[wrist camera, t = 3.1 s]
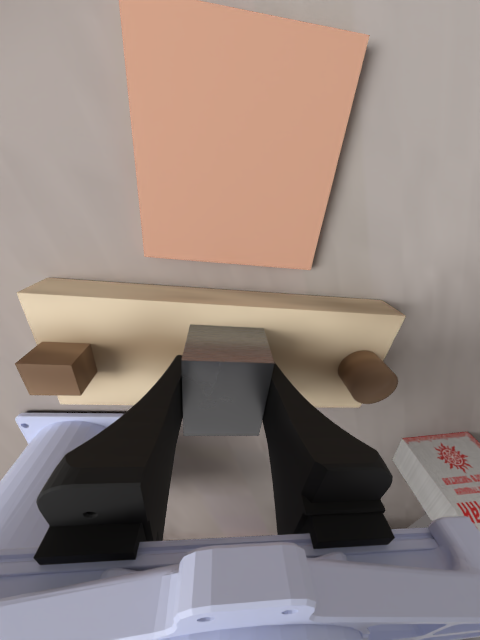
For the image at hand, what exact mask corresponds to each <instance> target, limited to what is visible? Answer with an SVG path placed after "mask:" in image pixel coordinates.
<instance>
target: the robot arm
mask: <svg viewBox="0 0 480 640" xmlns="http://www.w3.org/2000/svg"><path fill="white" fill-rule="evenodd" d="M181 359H182V355H177V356H176V357H175V358H174V360H173V361H172V363H171V364H170V366H169V367H168V369H167V370H166V371H165V372H164V374H163V375H162V376H161V377H160V379H159V380H158V381H157V382H156V383H155V385H154V386H153V387H152V388H151V389H150V390H149V391H148V392H147V393H146V394H145V395H144V396H143V397H142V398H141V399H140V400H139V401H138V402H137V403H136V404H135V405H134V406H133V407H132V408H131V409H129V410H128V411H127V412H126V413H125V414H123V413H20V414H19V415H18V416H17V417H16V419H15V420H16V422H17V424H18V426H19V428H20V429H21V431H22V433H23V435H24V437H25V438H26V440H27V442H28V444H29V445H28V446H27V447H26V448H25V450H24V451H23V452H22V454H21V455H20V456H19V458H18V459H17V460H16V461H15V463H14V464H13V465H12V467H11V468H10V469H9V471H8V472H7V473H6V474H5V476H4V477H3V478H2V480H1V481H0V640H458V639H466V638H473V637H480V531H479V530H478V529H477V528H476V526H475V525H474V524H473V522H472V521H471V520H470V518H469V517H467V516H455V517H441V518H438V519H435V520H434V521H432V522H431V523H430V525H429V526H428V527H424V528H405V529H390V527H389V525H388V523H387V521H386V519H385V517H384V515H383V513H384V512H385V508H384V506H383V504H382V502H381V500H380V499H381V497H382V496H383V495H384V494H385V492H386V491H387V490H388V488H389V487H390V485H391V483H392V475H391V473H390V471H389V469H388V468H387V466H386V464H385V463H384V461H383V459H382V458H381V456H380V455H379V453H378V452H377V450H375V449H373V448H371V447H370V446H368V445H366V444H365V443H363V442H361V441H360V440H358V439H356V438H355V437H353V436H352V435H350V434H349V433H347V432H346V431H344V430H343V429H341V428H340V427H339V426H337V425H336V424H335V423H333V422H332V421H331V420H329V419H328V418H327V417H326V416H324V415H323V414H322V413H321V412H320V411H318V410H317V409H316V408H315V407H314V406H313V405H312V404H311V403H310V402H308V401H307V400H306V399H305V398H304V397H303V396H302V395H301V393H300V392H299V391H298V390H297V389H296V388H295V387H294V386H293V385H292V383H291V382H290V381H289V380H288V379H287V377H286V376H285V375H284V374H283V372H282V371H281V370H280V368H279V367H278V366H277V364H276V363H275V362H274V363H275V364H274V368H273V373H272V377H271V382H270V387H269V391H268V396H267V400H266V405H265V410H264V414H263V419H262V420H263V425H264V429H265V433H266V438H267V443H268V449H269V457H270V464H271V473H272V481H273V490H274V500H275V510H276V522H277V533H278V535H267V536H247V537H228V538H208V539H188V540H169V541H162V540H163V532H164V525H165V517H166V510H167V502H168V495H169V488H170V481H171V474H172V467H173V461H174V454H175V448H176V443H177V438H178V434H179V430H180V426H181V422H182V418H183V400H182V367H181Z"/></svg>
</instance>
